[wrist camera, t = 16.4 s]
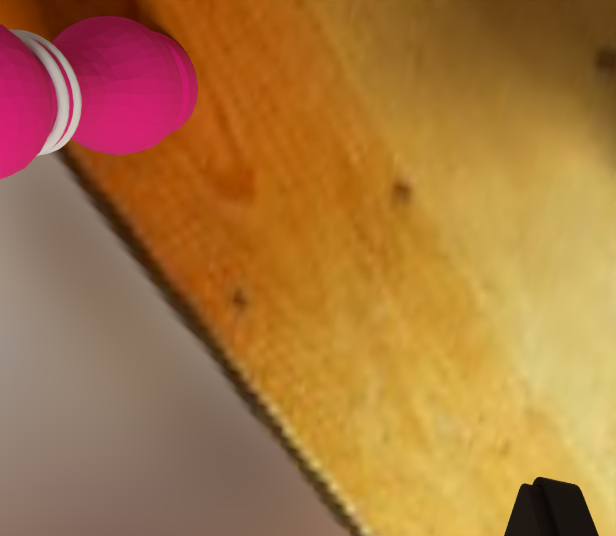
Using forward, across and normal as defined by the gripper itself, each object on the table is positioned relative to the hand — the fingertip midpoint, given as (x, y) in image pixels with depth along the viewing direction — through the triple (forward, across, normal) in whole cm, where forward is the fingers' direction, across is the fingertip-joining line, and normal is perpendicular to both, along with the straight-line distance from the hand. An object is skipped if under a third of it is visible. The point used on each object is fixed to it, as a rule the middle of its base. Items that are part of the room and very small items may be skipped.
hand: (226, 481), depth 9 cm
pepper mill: (+28, +14, -4) cm, 31 cm away
